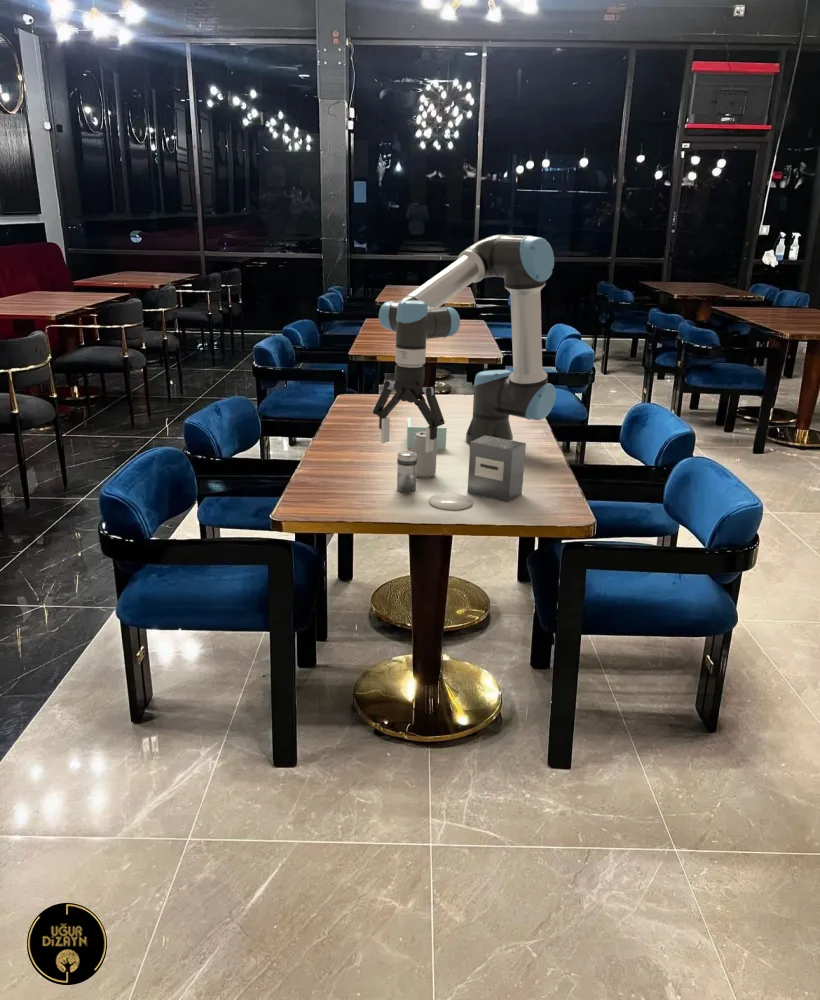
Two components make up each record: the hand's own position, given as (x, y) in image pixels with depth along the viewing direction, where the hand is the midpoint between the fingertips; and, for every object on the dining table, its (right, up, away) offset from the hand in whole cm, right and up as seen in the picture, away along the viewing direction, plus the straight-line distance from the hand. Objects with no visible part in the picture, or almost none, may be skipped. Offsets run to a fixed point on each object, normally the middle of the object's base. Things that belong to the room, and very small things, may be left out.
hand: (406, 446), depth 202 cm
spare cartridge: (0, -11, +4) cm, 12 cm away
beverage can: (+5, -7, +17) cm, 19 cm away
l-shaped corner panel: (+6, +4, +47) cm, 48 cm away
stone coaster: (+11, -14, -3) cm, 19 cm away
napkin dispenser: (+23, -12, +4) cm, 26 cm away
